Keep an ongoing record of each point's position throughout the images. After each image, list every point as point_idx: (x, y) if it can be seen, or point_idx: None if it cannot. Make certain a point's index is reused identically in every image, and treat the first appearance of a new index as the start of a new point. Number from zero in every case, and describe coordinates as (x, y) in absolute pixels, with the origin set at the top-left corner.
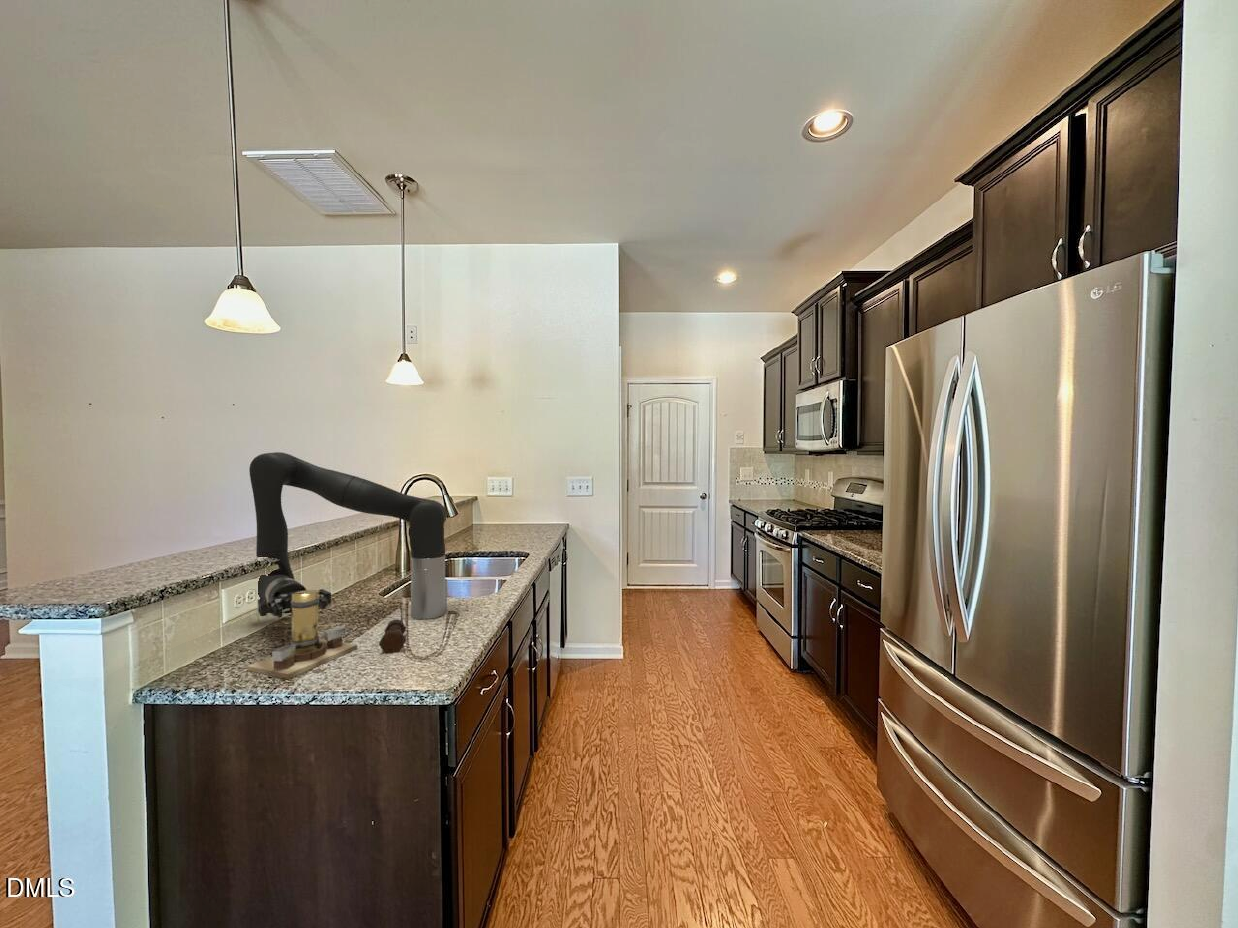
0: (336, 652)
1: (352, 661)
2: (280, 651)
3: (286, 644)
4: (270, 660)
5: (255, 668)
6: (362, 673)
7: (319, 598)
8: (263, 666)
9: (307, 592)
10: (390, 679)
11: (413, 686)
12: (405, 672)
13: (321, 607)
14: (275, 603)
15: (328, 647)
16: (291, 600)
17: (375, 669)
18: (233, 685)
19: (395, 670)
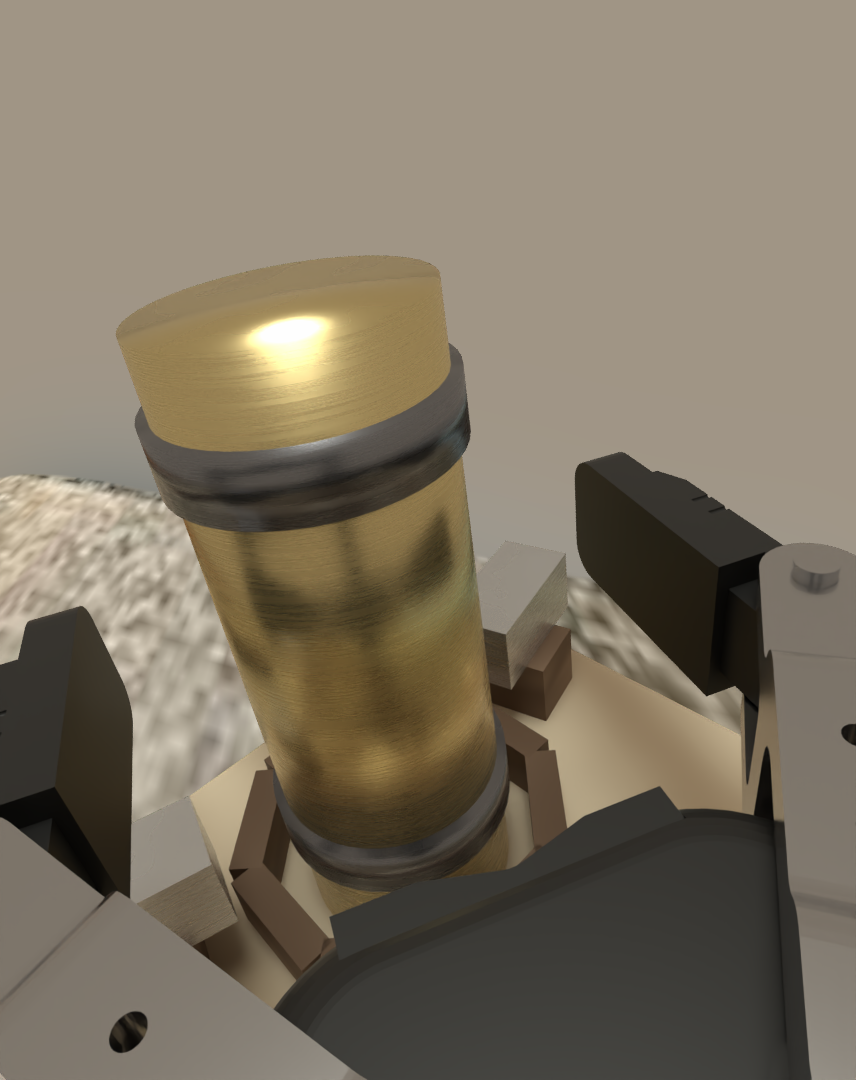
0: None
1: (143, 728)
2: (512, 546)
3: (506, 631)
4: None
5: (705, 722)
6: (156, 597)
7: (67, 704)
8: (656, 721)
9: (251, 304)
10: (92, 539)
11: (62, 496)
12: (16, 571)
13: (123, 720)
14: (784, 572)
15: (222, 953)
16: (455, 363)
17: (93, 616)
18: None
19: (34, 591)
